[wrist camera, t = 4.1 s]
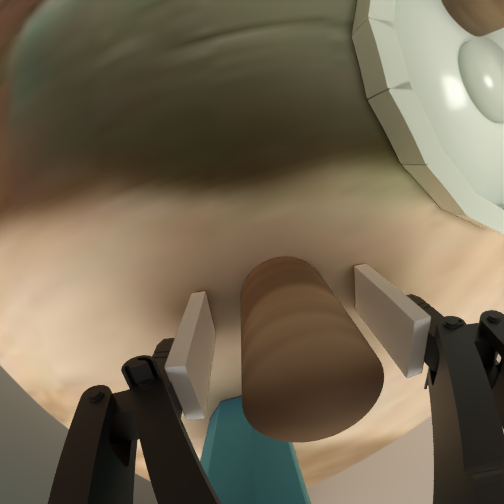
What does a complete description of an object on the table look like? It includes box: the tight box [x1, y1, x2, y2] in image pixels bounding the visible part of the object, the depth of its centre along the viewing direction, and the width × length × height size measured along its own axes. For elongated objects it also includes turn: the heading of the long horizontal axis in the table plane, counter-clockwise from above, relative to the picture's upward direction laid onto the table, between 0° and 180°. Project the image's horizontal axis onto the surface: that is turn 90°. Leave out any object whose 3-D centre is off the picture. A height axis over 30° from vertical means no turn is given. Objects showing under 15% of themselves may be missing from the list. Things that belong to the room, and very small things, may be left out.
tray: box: [352, 0, 504, 235], centre depth 11 cm, size 20×20×2 cm
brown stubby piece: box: [241, 257, 384, 442], centre depth 12 cm, size 5×5×8 cm
